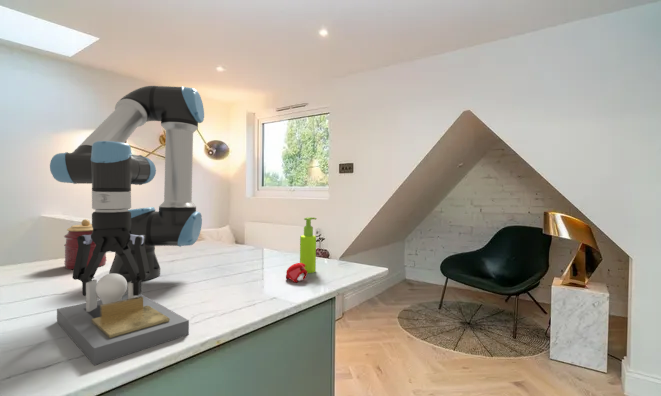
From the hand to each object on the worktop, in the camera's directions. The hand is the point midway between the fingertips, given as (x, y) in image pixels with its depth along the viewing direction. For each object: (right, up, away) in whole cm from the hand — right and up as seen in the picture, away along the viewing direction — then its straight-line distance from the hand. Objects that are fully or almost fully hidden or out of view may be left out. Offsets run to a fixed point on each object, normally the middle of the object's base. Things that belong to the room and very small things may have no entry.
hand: (112, 309), depth 78 cm
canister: (-43, 0, +51) cm, 67 cm away
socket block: (+4, -3, -3) cm, 6 cm away
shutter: (+8, 0, -7) cm, 11 cm away
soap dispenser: (+42, -2, +50) cm, 65 cm away
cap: (+38, -3, +37) cm, 53 cm away
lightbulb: (0, -3, 0) cm, 3 cm away
